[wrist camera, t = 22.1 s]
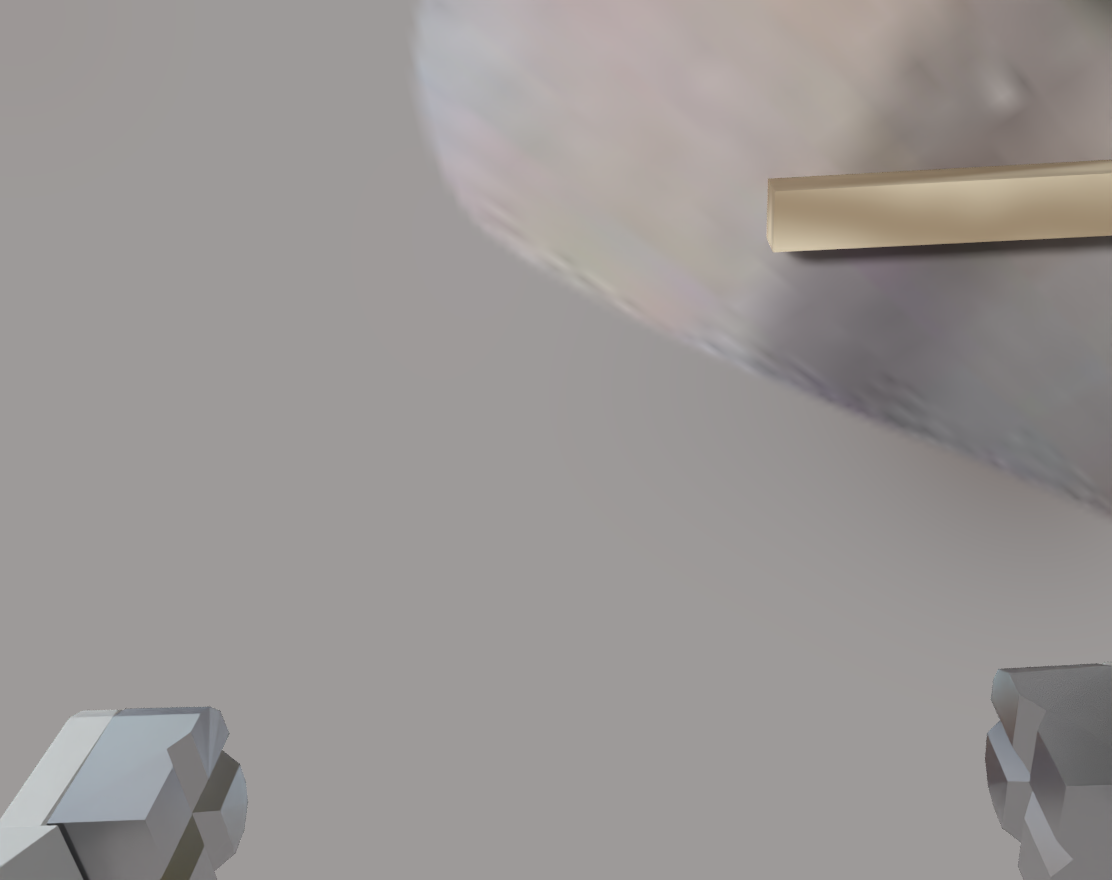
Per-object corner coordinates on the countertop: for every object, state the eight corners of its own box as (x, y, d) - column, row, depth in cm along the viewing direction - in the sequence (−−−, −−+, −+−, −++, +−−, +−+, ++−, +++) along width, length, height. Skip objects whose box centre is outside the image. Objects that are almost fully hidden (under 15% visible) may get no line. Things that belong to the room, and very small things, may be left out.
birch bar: (766, 176, 41) (774, 191, 39) (1289, 147, 39) (1327, 161, 37) (765, 234, 42) (773, 252, 40) (1273, 208, 40) (1309, 225, 38)
